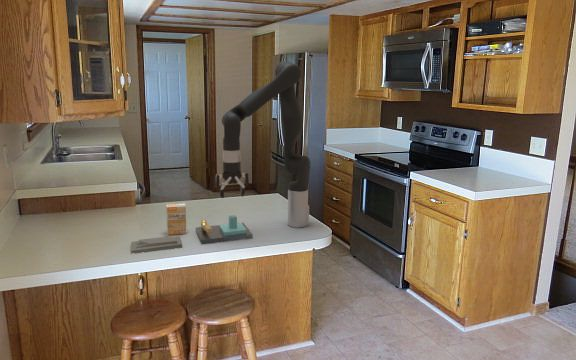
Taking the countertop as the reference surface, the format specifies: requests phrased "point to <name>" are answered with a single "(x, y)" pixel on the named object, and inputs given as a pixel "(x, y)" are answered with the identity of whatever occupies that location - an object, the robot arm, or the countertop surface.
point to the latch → (205, 226)
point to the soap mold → (156, 244)
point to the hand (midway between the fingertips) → (232, 196)
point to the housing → (220, 235)
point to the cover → (232, 227)
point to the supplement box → (176, 219)
